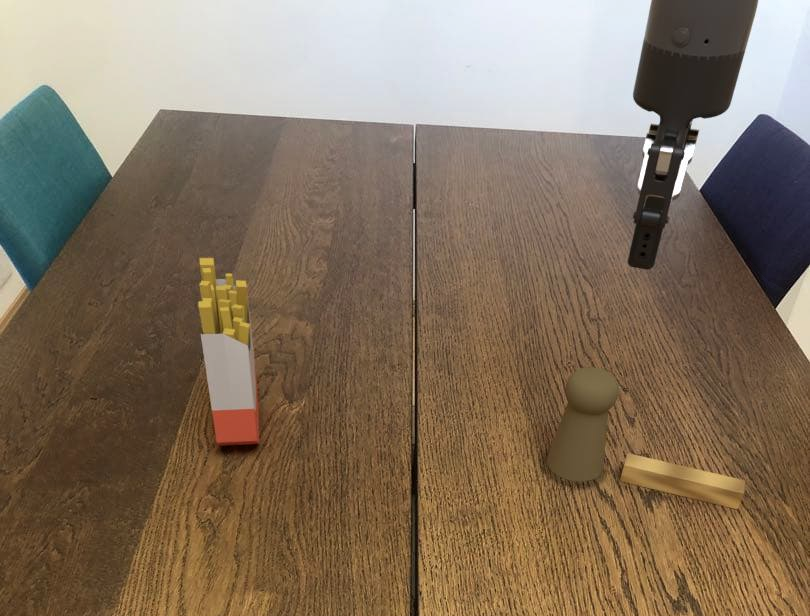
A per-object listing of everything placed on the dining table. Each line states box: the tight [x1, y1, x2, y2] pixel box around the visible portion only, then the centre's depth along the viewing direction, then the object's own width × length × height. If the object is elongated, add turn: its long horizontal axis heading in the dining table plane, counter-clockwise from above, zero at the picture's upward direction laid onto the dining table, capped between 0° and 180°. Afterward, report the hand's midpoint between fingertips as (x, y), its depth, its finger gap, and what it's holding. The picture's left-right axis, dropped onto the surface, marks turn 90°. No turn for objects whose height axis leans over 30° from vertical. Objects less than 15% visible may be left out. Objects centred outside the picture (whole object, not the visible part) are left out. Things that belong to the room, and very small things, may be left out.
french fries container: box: [197, 257, 260, 447], centre depth 83 cm, size 5×11×18 cm, turn 8°
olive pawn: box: [546, 366, 620, 483], centre depth 84 cm, size 6×6×11 cm
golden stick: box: [619, 452, 746, 510], centre depth 84 cm, size 12×2×2 cm, turn 71°
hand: (646, 246), depth 73 cm, fingers open, 8 cm apart
